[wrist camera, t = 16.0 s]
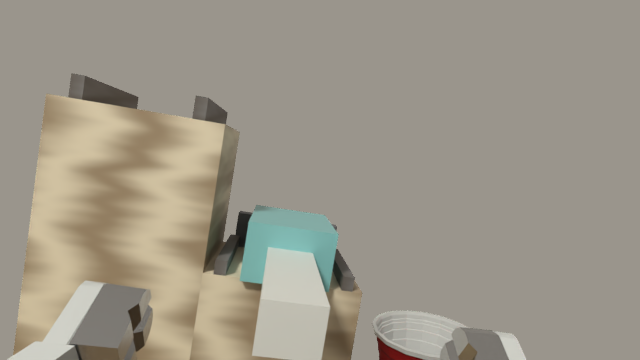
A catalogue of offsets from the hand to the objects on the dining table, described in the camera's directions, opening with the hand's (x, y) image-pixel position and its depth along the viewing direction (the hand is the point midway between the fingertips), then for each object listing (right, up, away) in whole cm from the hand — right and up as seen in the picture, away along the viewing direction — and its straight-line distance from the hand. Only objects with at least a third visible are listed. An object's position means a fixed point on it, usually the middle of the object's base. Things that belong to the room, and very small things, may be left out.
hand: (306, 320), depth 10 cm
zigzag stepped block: (-11, -20, +21) cm, 31 cm away
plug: (-2, -3, +15) cm, 15 cm away
